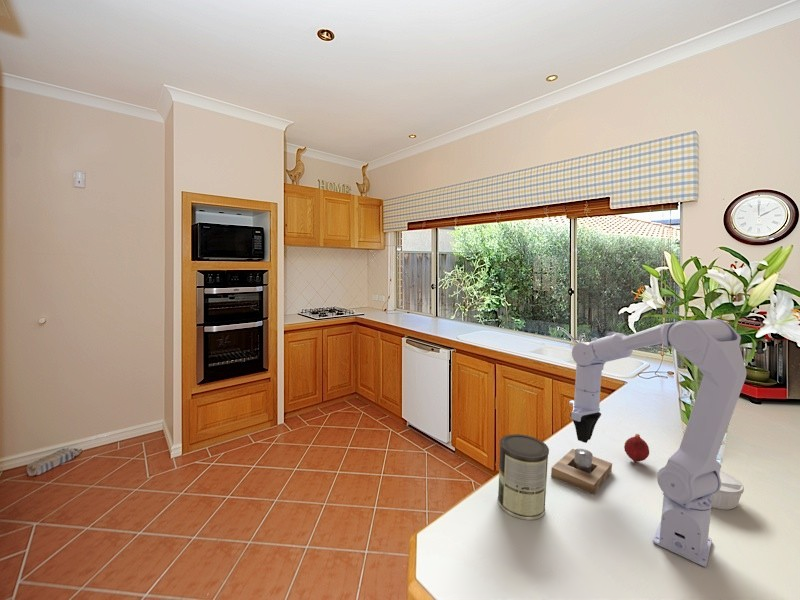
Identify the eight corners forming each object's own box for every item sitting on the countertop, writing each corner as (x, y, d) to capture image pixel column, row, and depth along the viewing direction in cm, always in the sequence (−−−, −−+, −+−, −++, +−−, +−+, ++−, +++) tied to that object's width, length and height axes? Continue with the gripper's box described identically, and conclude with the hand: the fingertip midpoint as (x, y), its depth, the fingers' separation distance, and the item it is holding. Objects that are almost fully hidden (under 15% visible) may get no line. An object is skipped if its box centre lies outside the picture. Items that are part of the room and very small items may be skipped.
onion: (652, 468, 95) (654, 440, 94) (628, 466, 96) (631, 438, 95) (642, 457, 101) (644, 430, 100) (619, 455, 102) (622, 428, 101)
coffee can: (488, 495, 82) (490, 437, 81) (523, 486, 86) (526, 431, 85) (517, 525, 73) (521, 460, 72) (556, 514, 76) (559, 452, 75)
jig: (593, 495, 83) (593, 485, 83) (551, 476, 90) (551, 467, 90) (611, 472, 93) (612, 463, 93) (572, 457, 100) (572, 448, 100)
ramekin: (718, 517, 76) (721, 494, 76) (667, 486, 87) (669, 466, 87) (754, 509, 79) (757, 487, 79) (700, 480, 90) (702, 460, 90)
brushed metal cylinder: (587, 481, 89) (589, 458, 88) (571, 474, 92) (573, 452, 91) (592, 474, 92) (594, 452, 91) (576, 468, 94) (578, 447, 94)
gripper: (581, 379, 97) (578, 426, 99) (559, 390, 87) (556, 443, 89) (609, 385, 92) (606, 435, 94) (590, 398, 82) (586, 454, 84)
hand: (584, 439), depth 91 cm, fingers closed
